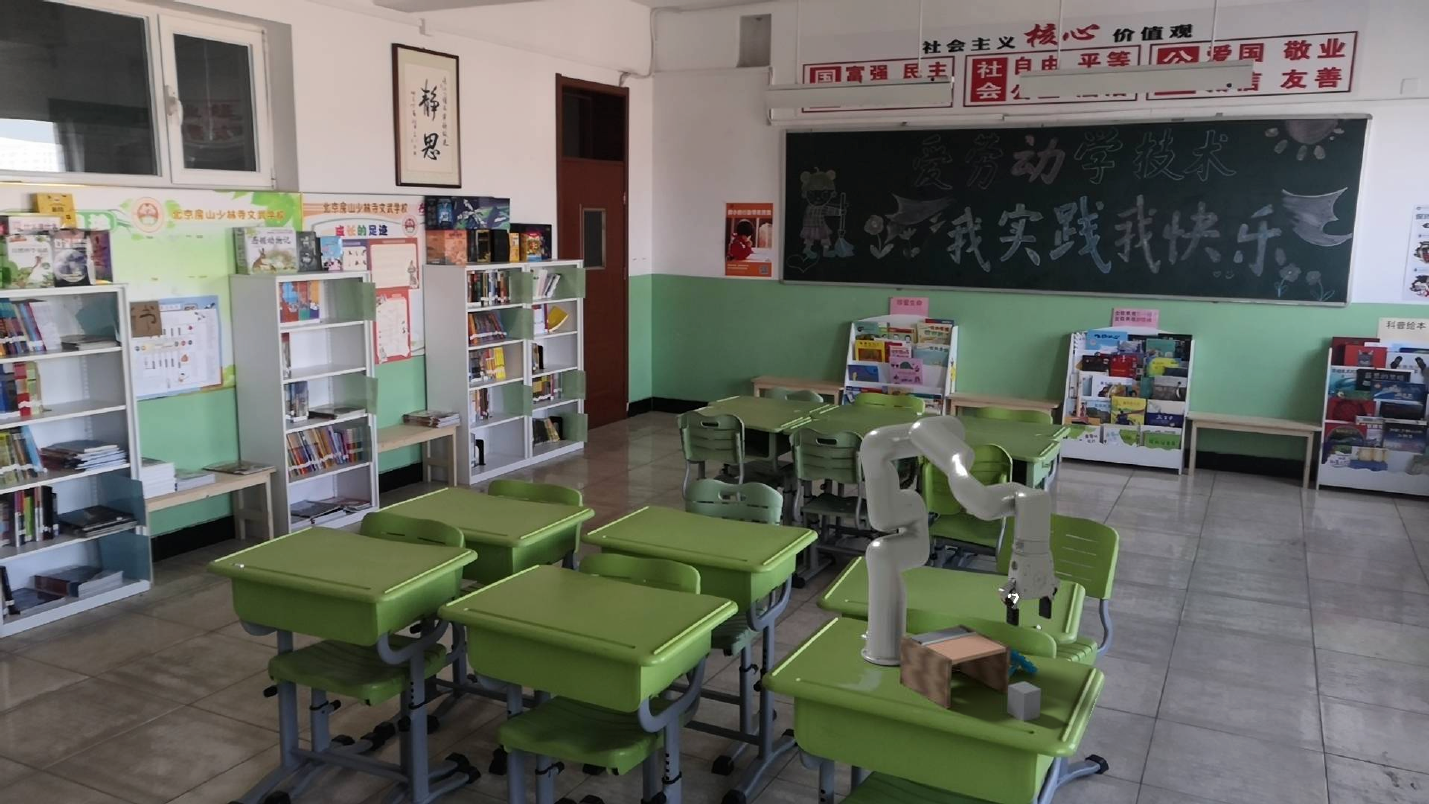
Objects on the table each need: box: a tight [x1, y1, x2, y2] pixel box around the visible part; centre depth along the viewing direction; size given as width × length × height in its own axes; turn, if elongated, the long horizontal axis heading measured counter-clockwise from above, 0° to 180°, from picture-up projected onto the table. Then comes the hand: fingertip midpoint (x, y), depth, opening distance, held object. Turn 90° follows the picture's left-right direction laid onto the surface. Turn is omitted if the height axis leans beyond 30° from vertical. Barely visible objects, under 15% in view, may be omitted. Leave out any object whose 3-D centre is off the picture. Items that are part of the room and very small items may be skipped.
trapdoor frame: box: [899, 624, 1012, 710], centre depth 250 cm, size 17×19×12 cm
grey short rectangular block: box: [1006, 681, 1042, 722], centre depth 236 cm, size 5×5×6 cm
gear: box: [1009, 648, 1039, 678], centre depth 259 cm, size 11×6×10 cm
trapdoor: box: [908, 625, 1006, 665], centre depth 249 cm, size 16×16×4 cm
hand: (1028, 620), depth 233 cm, fingers open, 9 cm apart
